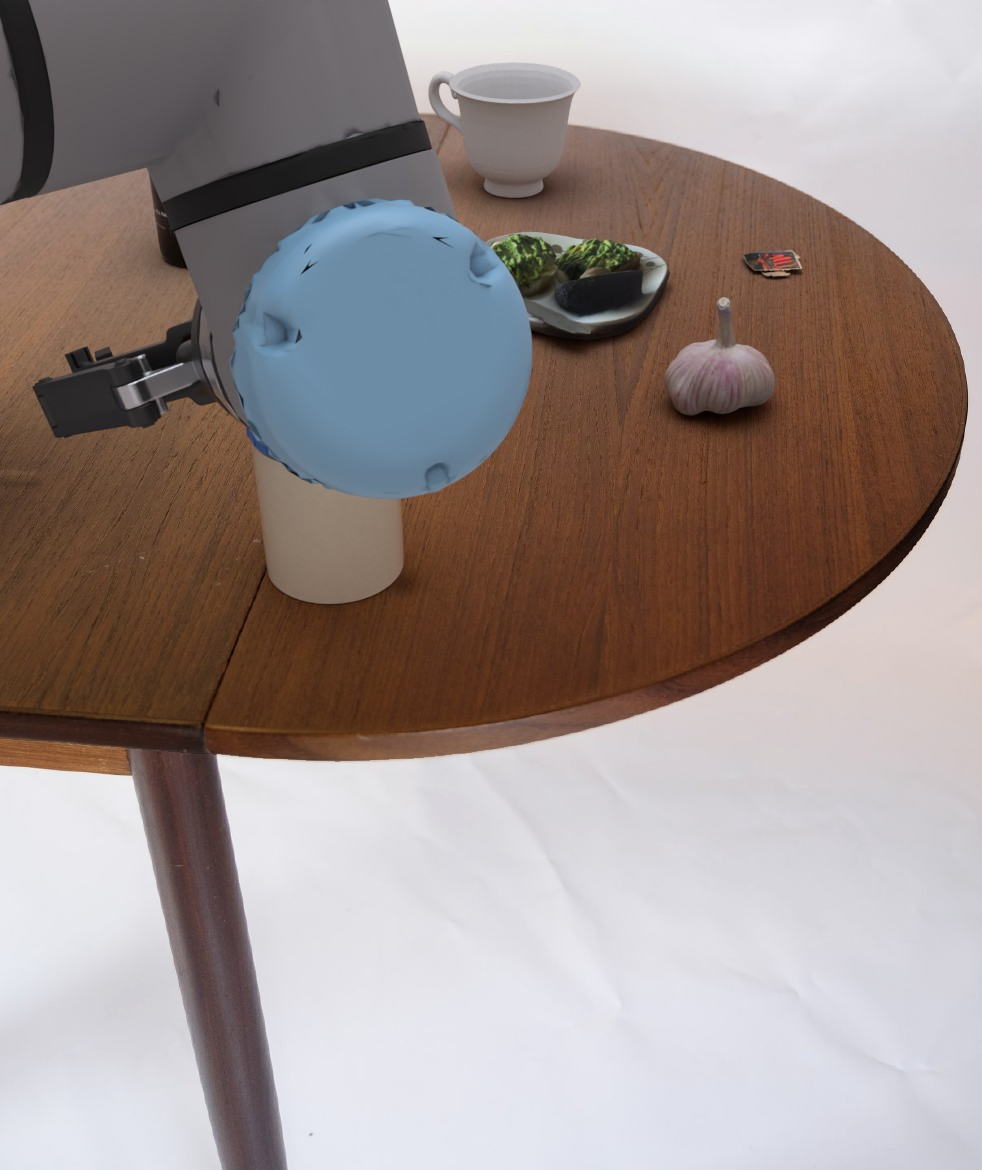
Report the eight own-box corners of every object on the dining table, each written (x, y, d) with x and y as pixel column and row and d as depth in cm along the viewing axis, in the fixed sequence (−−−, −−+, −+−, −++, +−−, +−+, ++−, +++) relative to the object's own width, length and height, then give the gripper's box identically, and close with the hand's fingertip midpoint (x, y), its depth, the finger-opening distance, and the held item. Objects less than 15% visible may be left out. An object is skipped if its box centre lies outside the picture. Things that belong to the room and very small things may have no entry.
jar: (254, 602, 72) (232, 440, 65) (280, 521, 78) (262, 367, 72) (396, 606, 71) (388, 445, 65) (410, 525, 78) (404, 370, 71)
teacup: (459, 155, 131) (458, 52, 125) (595, 177, 125) (600, 72, 119) (402, 193, 122) (398, 85, 116) (544, 219, 117) (548, 107, 111)
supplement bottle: (154, 270, 108) (131, 126, 100) (168, 238, 113) (146, 99, 106) (236, 269, 108) (219, 125, 100) (246, 238, 113) (230, 99, 106)
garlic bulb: (658, 425, 87) (669, 317, 83) (666, 375, 93) (676, 271, 88) (770, 436, 86) (788, 327, 82) (771, 384, 92) (788, 280, 87)
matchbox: (736, 257, 110) (737, 252, 109) (791, 251, 111) (791, 246, 111) (760, 279, 106) (761, 274, 106) (816, 273, 107) (817, 267, 107)
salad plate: (382, 318, 100) (379, 262, 98) (471, 236, 114) (471, 185, 111) (617, 363, 95) (621, 305, 92) (683, 271, 108) (688, 218, 105)
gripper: (11, 571, 44) (35, 486, 64) (642, 319, 49) (483, 312, 69) (-89, 365, 42) (-32, 343, 62) (584, 123, 47) (437, 174, 67)
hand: (240, 327), depth 65 cm, fingers open, 13 cm apart
